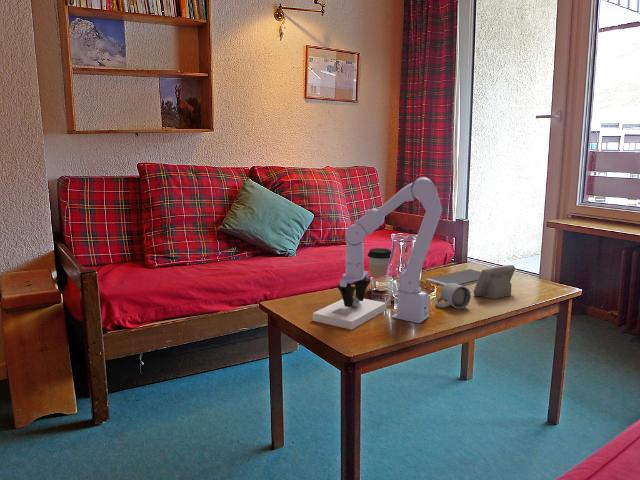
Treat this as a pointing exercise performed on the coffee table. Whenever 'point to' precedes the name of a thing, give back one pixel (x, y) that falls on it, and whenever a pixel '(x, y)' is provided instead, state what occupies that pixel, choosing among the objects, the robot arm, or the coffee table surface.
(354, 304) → the steel ball
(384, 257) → the coffee cup
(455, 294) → the ceramic mug
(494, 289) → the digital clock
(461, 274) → the grey flat slab
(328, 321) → the hole plate
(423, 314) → the robot arm
